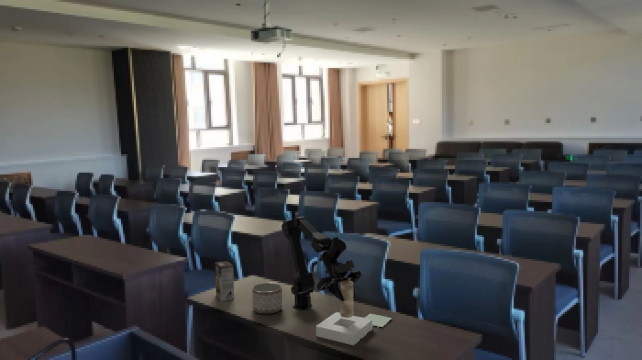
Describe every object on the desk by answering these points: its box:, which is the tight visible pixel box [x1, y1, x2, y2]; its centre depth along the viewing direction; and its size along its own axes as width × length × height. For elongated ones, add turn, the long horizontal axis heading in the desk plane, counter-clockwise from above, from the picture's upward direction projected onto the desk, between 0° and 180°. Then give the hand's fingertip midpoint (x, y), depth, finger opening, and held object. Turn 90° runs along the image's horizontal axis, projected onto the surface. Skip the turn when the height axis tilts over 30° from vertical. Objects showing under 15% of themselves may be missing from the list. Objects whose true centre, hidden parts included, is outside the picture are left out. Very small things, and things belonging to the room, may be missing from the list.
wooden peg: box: [339, 281, 354, 318], centre depth 188 cm, size 5×5×13 cm
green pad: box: [364, 313, 393, 328], centre depth 200 cm, size 10×10×1 cm
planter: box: [251, 281, 283, 314], centre depth 213 cm, size 13×13×10 cm
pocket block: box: [315, 311, 373, 346], centre depth 189 cm, size 16×16×4 cm
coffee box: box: [214, 260, 235, 302], centre depth 228 cm, size 9×6×16 cm
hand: (349, 299), depth 187 cm, fingers closed on wooden peg, 5 cm apart
